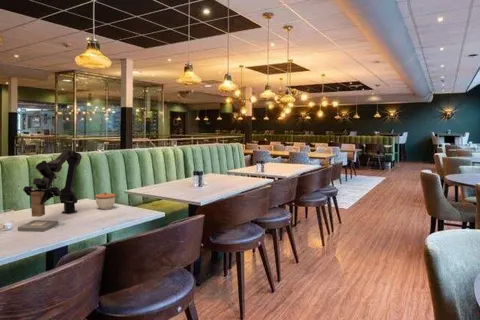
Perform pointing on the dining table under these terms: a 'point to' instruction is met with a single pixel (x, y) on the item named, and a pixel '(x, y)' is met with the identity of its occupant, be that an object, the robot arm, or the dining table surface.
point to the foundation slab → (38, 225)
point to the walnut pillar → (37, 204)
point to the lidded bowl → (105, 200)
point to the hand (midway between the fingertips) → (36, 204)
